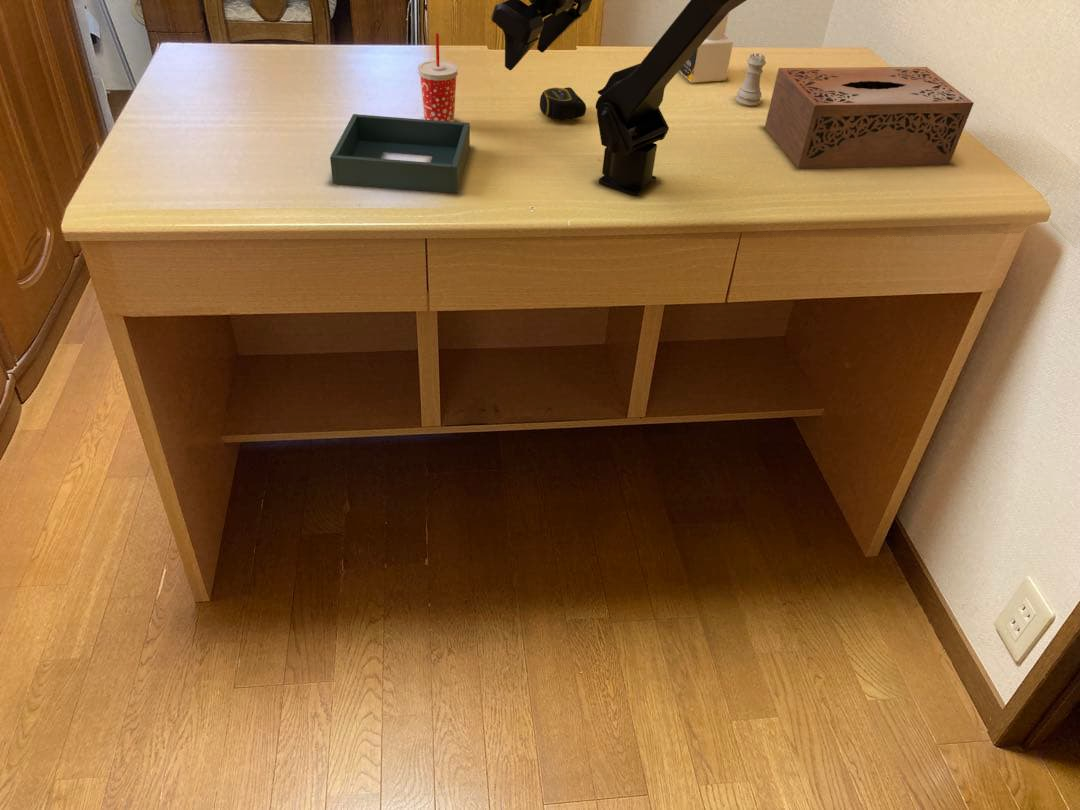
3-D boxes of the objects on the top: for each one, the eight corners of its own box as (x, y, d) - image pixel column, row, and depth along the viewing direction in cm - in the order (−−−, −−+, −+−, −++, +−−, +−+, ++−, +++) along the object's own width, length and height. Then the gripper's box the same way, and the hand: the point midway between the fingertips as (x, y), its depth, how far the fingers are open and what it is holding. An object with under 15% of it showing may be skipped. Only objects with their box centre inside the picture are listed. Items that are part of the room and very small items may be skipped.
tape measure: (586, 123, 142) (588, 100, 139) (546, 126, 140) (548, 103, 137) (572, 106, 146) (574, 84, 144) (533, 109, 145) (535, 86, 142)
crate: (469, 147, 133) (469, 122, 130) (457, 193, 122) (457, 167, 119) (355, 139, 133) (353, 113, 130) (332, 183, 122) (329, 157, 119)
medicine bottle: (675, 68, 162) (685, 1, 154) (709, 66, 164) (721, -1, 156) (690, 83, 157) (702, 14, 149) (726, 80, 159) (739, 12, 151)
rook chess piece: (765, 105, 151) (776, 59, 146) (743, 108, 150) (753, 61, 144) (751, 95, 154) (761, 50, 149) (730, 98, 153) (739, 52, 147)
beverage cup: (420, 115, 140) (417, 26, 131) (458, 116, 141) (457, 27, 132) (419, 131, 136) (415, 40, 126) (458, 132, 136) (457, 41, 127)
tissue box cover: (797, 168, 133) (814, 105, 127) (764, 128, 144) (778, 68, 137) (949, 164, 137) (973, 102, 131) (906, 125, 148) (926, 66, 141)
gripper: (549, -87, 124) (514, 13, 135) (477, -61, 111) (445, 46, 123) (611, -44, 123) (571, 53, 134) (546, -14, 110) (507, 90, 122)
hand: (524, 59), depth 128 cm, fingers open, 9 cm apart
